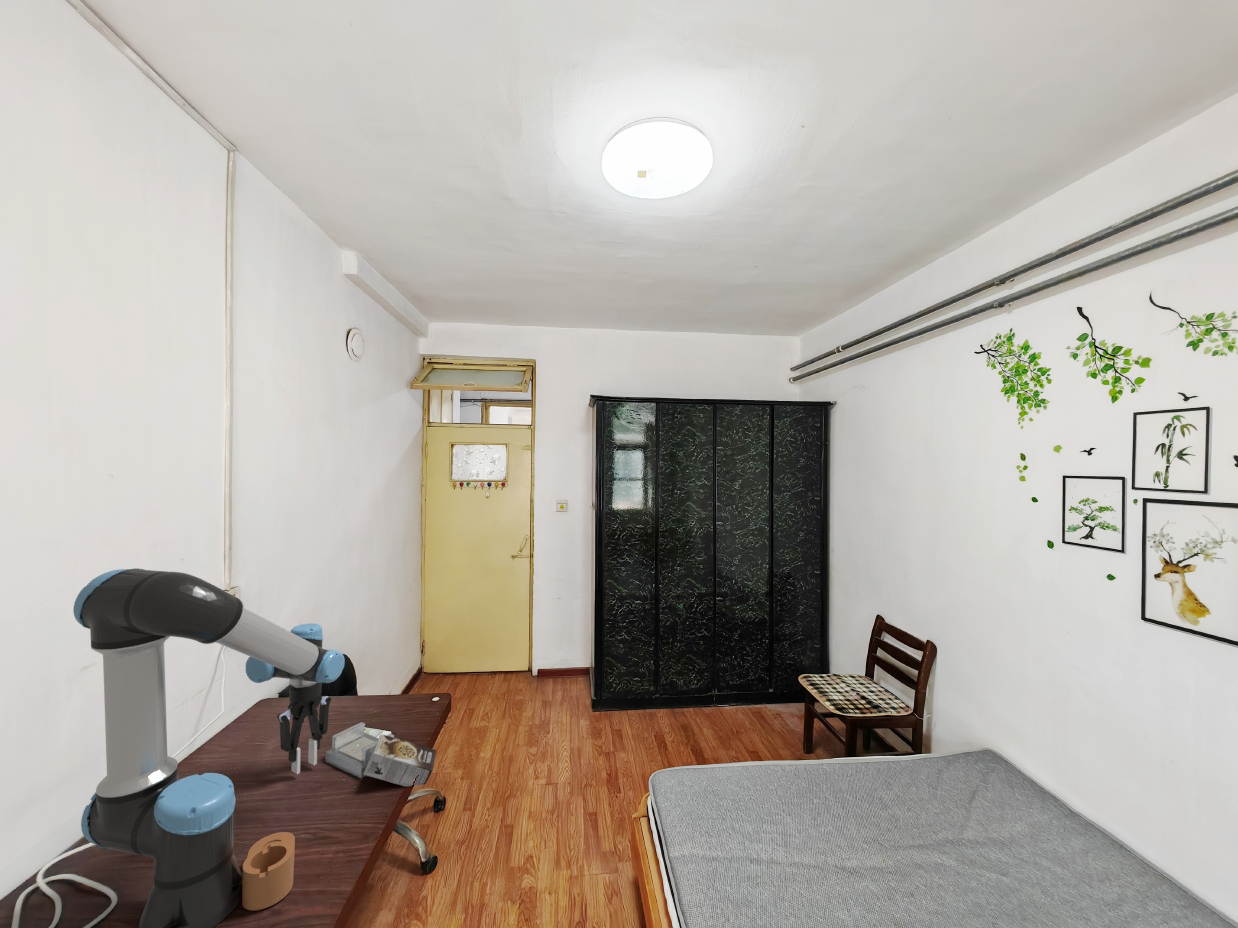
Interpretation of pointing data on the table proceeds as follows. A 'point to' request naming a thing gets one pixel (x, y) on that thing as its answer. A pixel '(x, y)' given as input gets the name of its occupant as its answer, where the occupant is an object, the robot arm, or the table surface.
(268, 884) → the bracket
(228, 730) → the table surface
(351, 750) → the aluminum channel piece
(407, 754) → the coffee box
